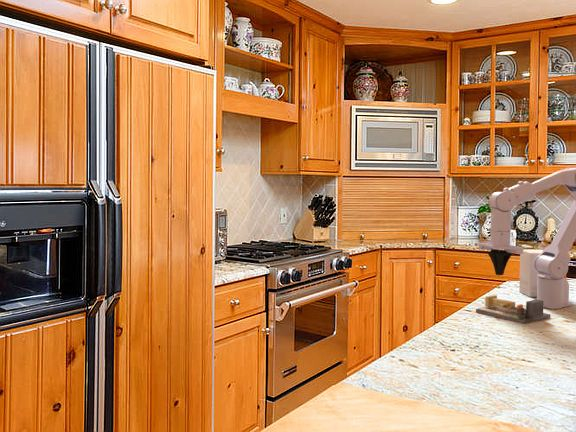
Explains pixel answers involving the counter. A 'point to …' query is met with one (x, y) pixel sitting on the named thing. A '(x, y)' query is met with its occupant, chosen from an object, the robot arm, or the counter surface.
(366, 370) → the counter surface
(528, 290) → the supplement box
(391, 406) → the counter surface
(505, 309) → the gauge base
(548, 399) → the counter surface
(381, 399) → the counter surface
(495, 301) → the wooden u-shaped cradle
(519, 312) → the orange and grey block
